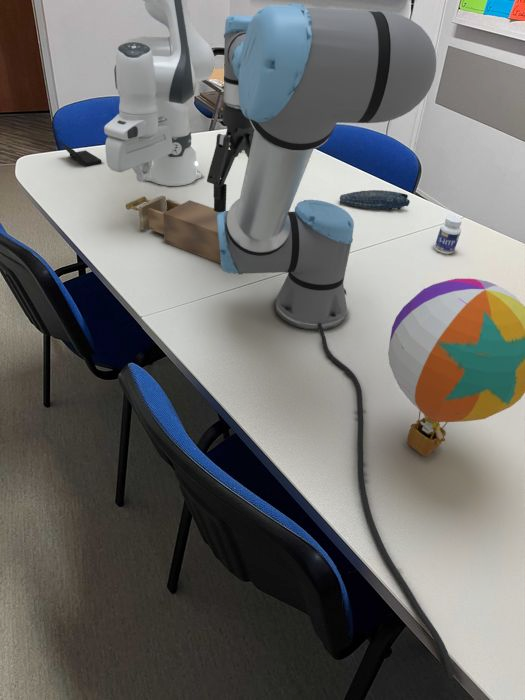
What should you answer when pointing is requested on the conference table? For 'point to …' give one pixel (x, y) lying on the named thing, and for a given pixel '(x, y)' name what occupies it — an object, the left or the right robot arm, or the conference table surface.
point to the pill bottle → (448, 235)
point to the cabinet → (193, 229)
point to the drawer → (152, 212)
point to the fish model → (376, 199)
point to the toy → (458, 355)
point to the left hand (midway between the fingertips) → (143, 179)
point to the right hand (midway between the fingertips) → (236, 202)
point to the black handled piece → (82, 156)
